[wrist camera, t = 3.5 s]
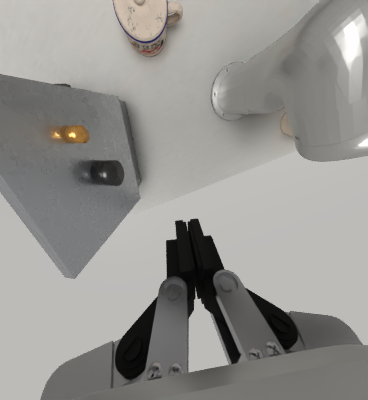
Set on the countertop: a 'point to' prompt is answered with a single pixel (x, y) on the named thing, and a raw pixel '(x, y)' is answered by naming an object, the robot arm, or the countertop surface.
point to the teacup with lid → (147, 22)
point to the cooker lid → (65, 167)
